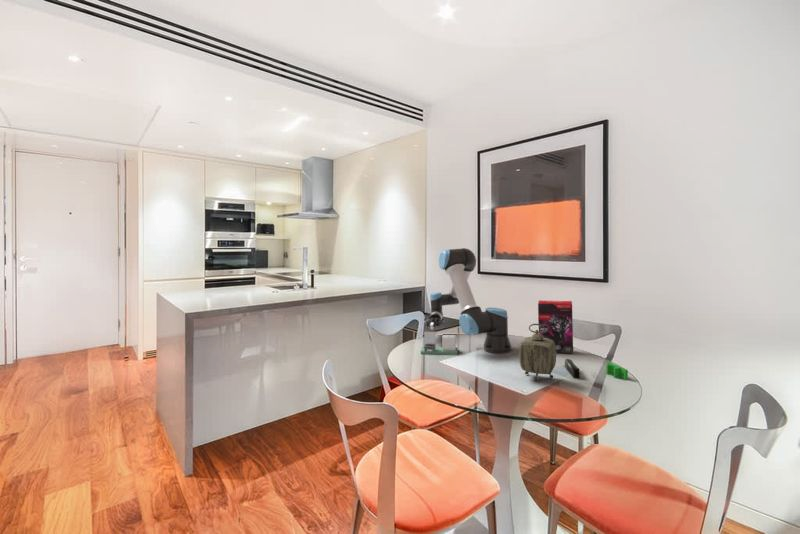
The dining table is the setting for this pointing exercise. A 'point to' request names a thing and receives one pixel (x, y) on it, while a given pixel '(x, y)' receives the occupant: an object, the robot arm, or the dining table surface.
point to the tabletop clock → (537, 354)
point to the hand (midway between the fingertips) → (431, 327)
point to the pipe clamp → (617, 371)
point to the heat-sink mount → (447, 344)
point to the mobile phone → (572, 368)
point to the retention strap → (429, 339)
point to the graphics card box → (557, 323)
